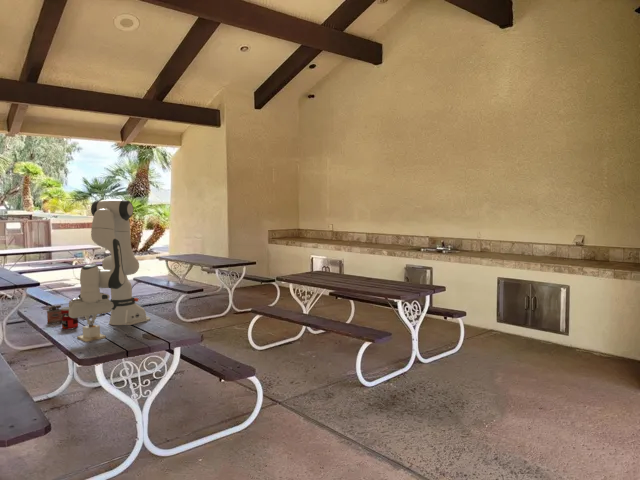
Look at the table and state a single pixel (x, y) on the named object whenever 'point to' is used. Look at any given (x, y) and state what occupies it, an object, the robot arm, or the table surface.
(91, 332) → the beige hollow cube
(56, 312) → the ornate red tin
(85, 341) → the shaft block
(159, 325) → the table surface
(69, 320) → the canned food
